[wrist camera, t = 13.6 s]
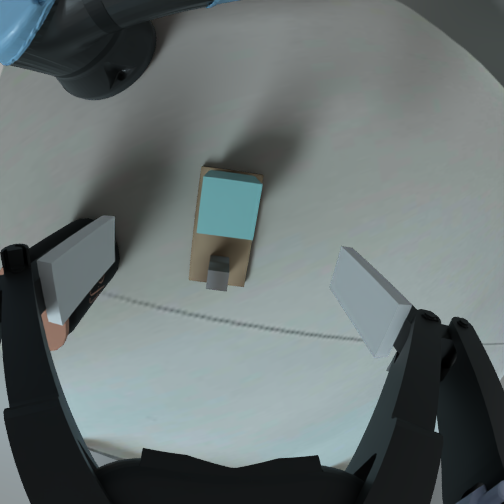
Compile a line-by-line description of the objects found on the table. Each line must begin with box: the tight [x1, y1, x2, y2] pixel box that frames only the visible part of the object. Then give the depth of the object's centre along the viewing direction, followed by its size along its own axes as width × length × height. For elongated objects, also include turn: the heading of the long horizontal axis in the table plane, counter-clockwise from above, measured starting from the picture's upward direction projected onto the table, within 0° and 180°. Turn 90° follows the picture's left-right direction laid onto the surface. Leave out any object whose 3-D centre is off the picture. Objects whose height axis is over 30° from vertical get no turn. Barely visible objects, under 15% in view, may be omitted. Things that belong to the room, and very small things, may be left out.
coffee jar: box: [0, 219, 119, 351], centre depth 29 cm, size 11×11×18 cm
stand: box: [189, 166, 263, 291], centre depth 33 cm, size 8×16×10 cm, turn 170°
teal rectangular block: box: [197, 170, 263, 240], centre depth 30 cm, size 6×6×9 cm
